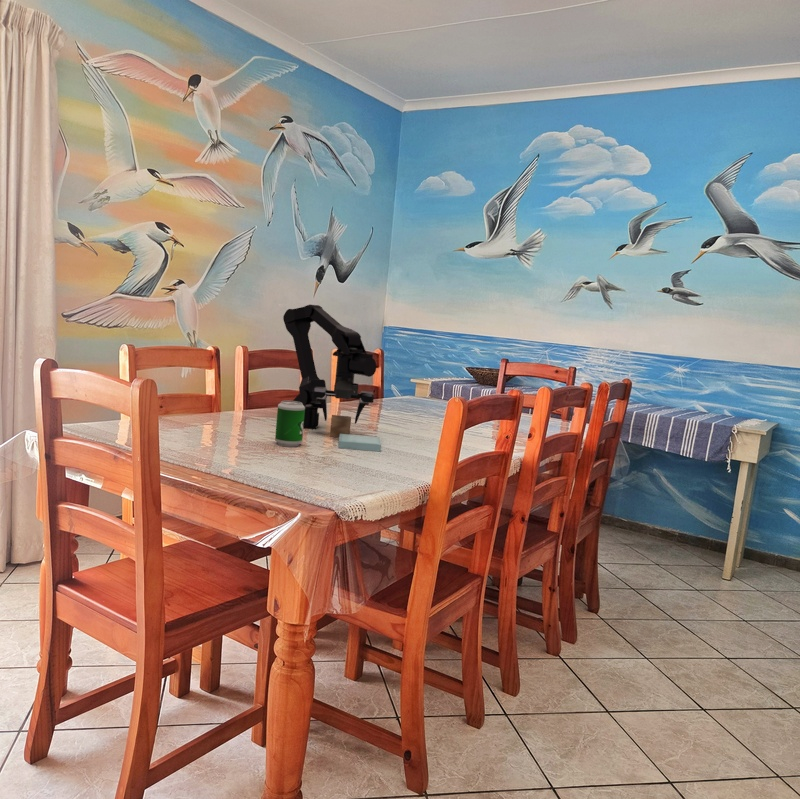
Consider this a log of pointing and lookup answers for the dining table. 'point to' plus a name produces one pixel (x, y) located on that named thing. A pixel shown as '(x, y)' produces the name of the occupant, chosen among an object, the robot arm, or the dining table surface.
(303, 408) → the soda can
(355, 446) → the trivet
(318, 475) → the dining table surface
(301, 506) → the dining table surface
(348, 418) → the walnut cube
